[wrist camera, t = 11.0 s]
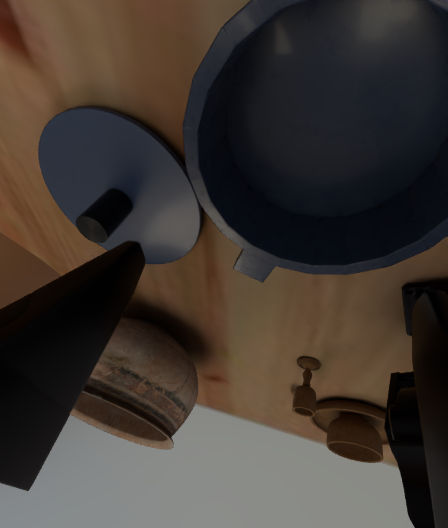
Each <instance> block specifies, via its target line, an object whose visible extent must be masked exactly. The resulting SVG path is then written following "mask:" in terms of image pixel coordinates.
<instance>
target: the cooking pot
mask: <svg viewBox="0 0 448 528" xmlns="http://www.w3.org/2000/svg"><path fill="white" fill-rule="evenodd" d="M197 396H198V378H197V372H196V369H195V367H194V365H193V362H192V360H191V359H190V357H189V356H188V354H187V353H186V351H185V350H184V349H183V348H182V347H181V345H180V344H179V343H178V342H177V341H176V340H175V339H174V338H173V337H172V336H171V334H170V333H169V332H168V331H167V330H166V329H165V328H163V327H162V326H160V325H158V324H156V323H154V322H152V321H149V320H145V319H133V318H124V317H122V318H121V319H120V321H119V323H118V325H117V327H116V329H115V331H114V333H113V334H112V336H111V338H110V340H109V342H108V344H107V346H106V348H105V349H104V351H103V353H102V355H101V357H100V359H99V361H98V363H97V364H96V366H95V368H94V370H93V372H92V374H91V376H90V378H89V379H88V381H87V383H86V385H85V387H84V389H83V391H82V393H81V394H80V396H79V398H78V400H77V402H76V404H75V406H74V408H73V409H72V411H71V413H70V414H71V415H72V416H74V417H76V418H78V419H80V420H82V421H84V422H86V423H88V424H90V425H92V426H94V427H96V428H98V429H101V430H103V431H105V432H108V433H110V434H112V435H115V436H118V437H120V438H123V439H126V440H128V441H131V442H134V443H137V444H140V445H144V446H148V447H152V448H157V449H171V448H173V446H174V443H173V440H172V438H171V437H172V436H173V435H174V434H175V433H176V431H177V430H178V429H179V428H180V427H181V425H182V424H183V423H184V421H185V420H186V419H187V417H188V416H189V414H190V413H191V411H192V409H193V407H194V405H195V402H196V399H197Z"/></svg>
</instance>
